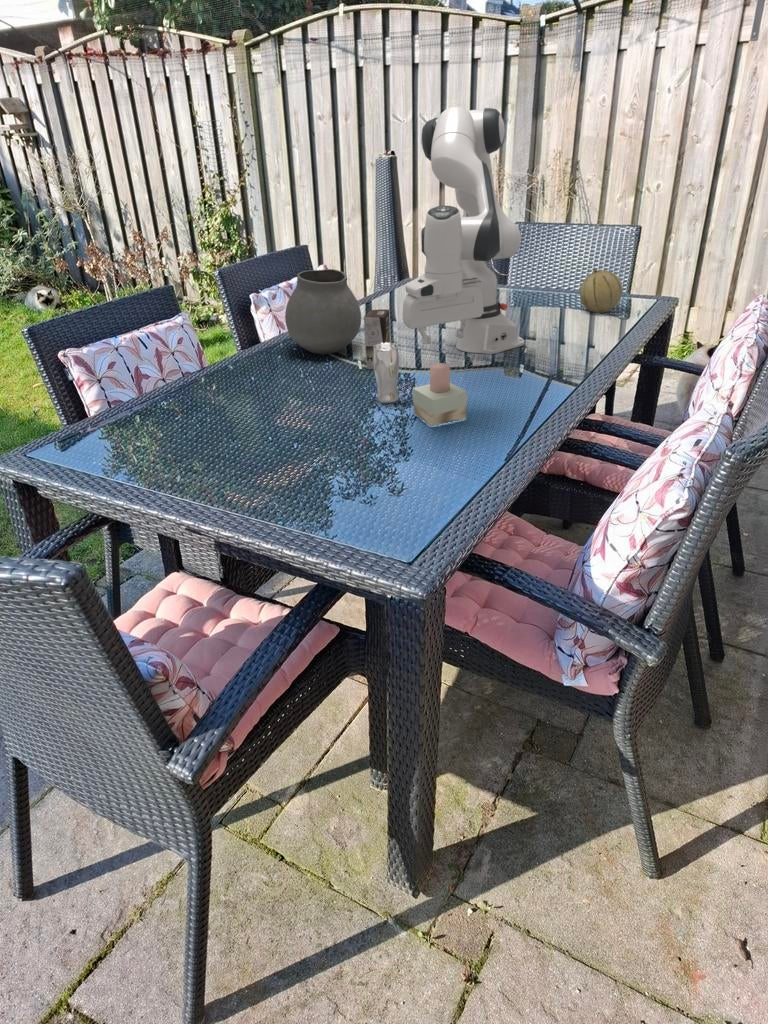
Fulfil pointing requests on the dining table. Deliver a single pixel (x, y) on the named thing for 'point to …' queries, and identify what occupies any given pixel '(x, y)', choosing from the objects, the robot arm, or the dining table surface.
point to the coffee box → (375, 332)
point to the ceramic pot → (322, 311)
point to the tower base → (440, 416)
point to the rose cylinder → (440, 377)
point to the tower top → (439, 399)
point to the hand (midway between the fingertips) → (443, 340)
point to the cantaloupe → (601, 291)
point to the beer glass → (386, 371)
